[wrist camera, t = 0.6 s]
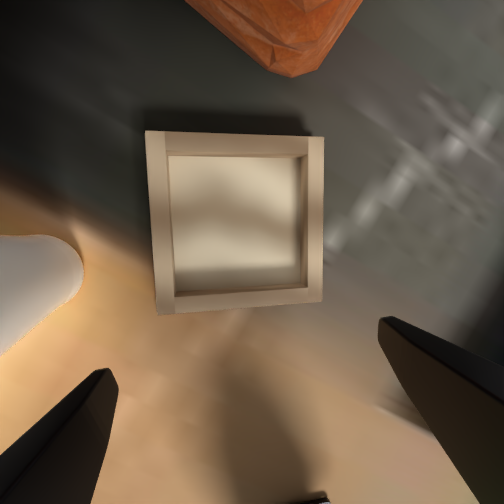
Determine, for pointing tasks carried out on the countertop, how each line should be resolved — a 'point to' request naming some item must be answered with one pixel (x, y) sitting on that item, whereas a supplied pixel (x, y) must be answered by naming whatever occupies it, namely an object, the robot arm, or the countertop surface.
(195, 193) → the square tray
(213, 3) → the bread
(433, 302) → the countertop surface
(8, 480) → the robot arm
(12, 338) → the white tumbler
